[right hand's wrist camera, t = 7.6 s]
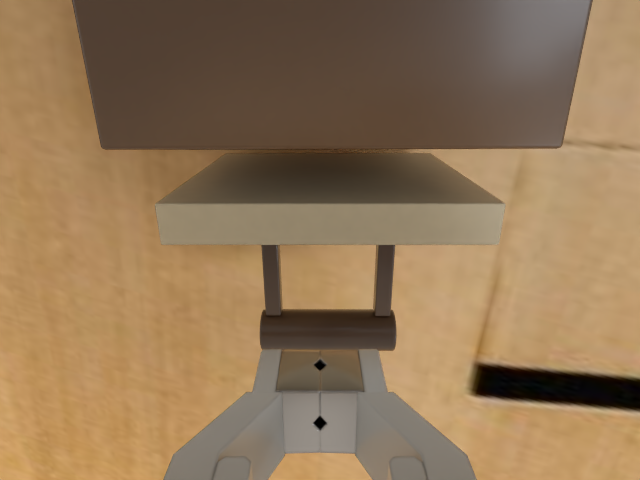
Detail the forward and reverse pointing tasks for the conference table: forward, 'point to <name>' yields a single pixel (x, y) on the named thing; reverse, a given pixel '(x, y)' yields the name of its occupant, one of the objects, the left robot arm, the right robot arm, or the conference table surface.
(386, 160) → the drawer
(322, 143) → the cabinet
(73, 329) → the conference table surface
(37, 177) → the conference table surface
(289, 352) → the right robot arm
